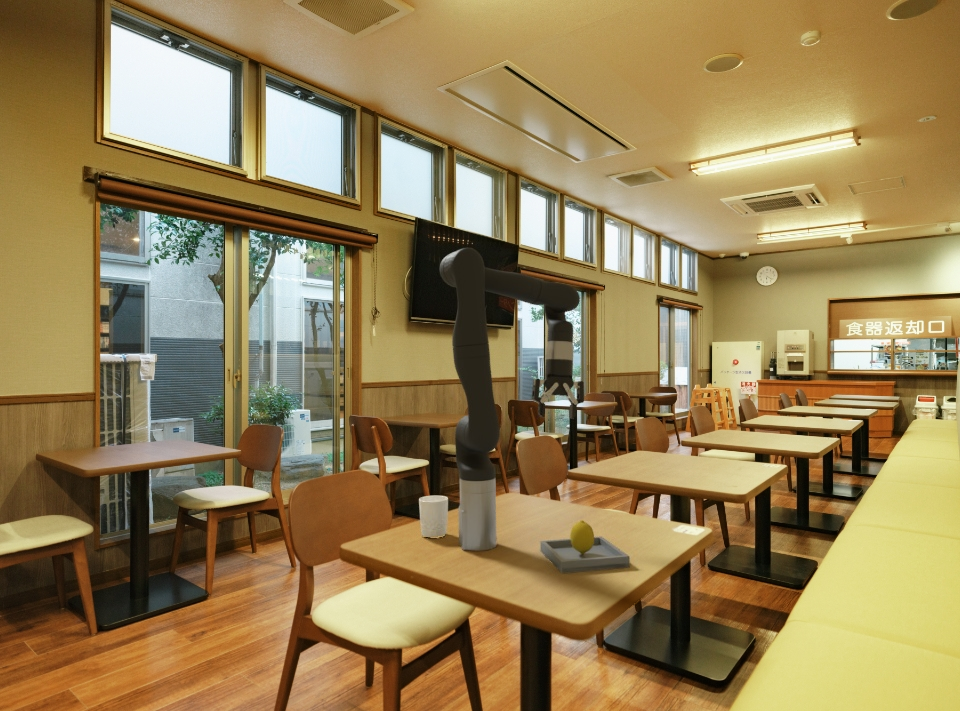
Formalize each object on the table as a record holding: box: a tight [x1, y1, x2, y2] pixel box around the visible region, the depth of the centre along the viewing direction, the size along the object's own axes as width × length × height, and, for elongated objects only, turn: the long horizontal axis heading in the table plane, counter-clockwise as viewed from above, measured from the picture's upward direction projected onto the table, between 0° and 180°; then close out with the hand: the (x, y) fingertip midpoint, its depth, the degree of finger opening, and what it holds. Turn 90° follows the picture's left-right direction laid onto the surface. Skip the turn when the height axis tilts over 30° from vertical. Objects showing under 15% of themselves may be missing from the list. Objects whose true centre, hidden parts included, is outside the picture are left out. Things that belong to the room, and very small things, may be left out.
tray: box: [539, 535, 631, 574], centre depth 140 cm, size 16×16×2 cm
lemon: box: [569, 519, 595, 555], centre depth 140 cm, size 6×6×8 cm
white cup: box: [418, 494, 449, 537], centre depth 161 cm, size 8×8×10 cm
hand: (557, 417), depth 162 cm, fingers open, 8 cm apart
